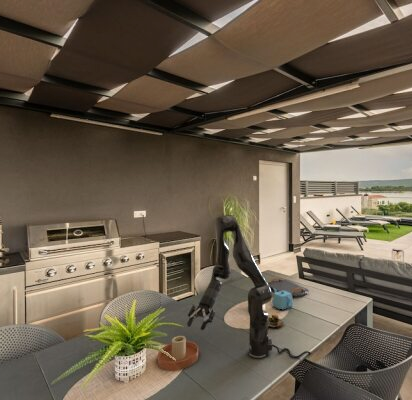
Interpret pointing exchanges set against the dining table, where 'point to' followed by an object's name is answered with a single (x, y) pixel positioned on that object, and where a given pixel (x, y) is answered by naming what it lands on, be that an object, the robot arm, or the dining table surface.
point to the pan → (171, 364)
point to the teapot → (282, 299)
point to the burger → (275, 321)
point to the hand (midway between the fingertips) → (195, 327)
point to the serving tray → (287, 287)
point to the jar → (179, 347)
